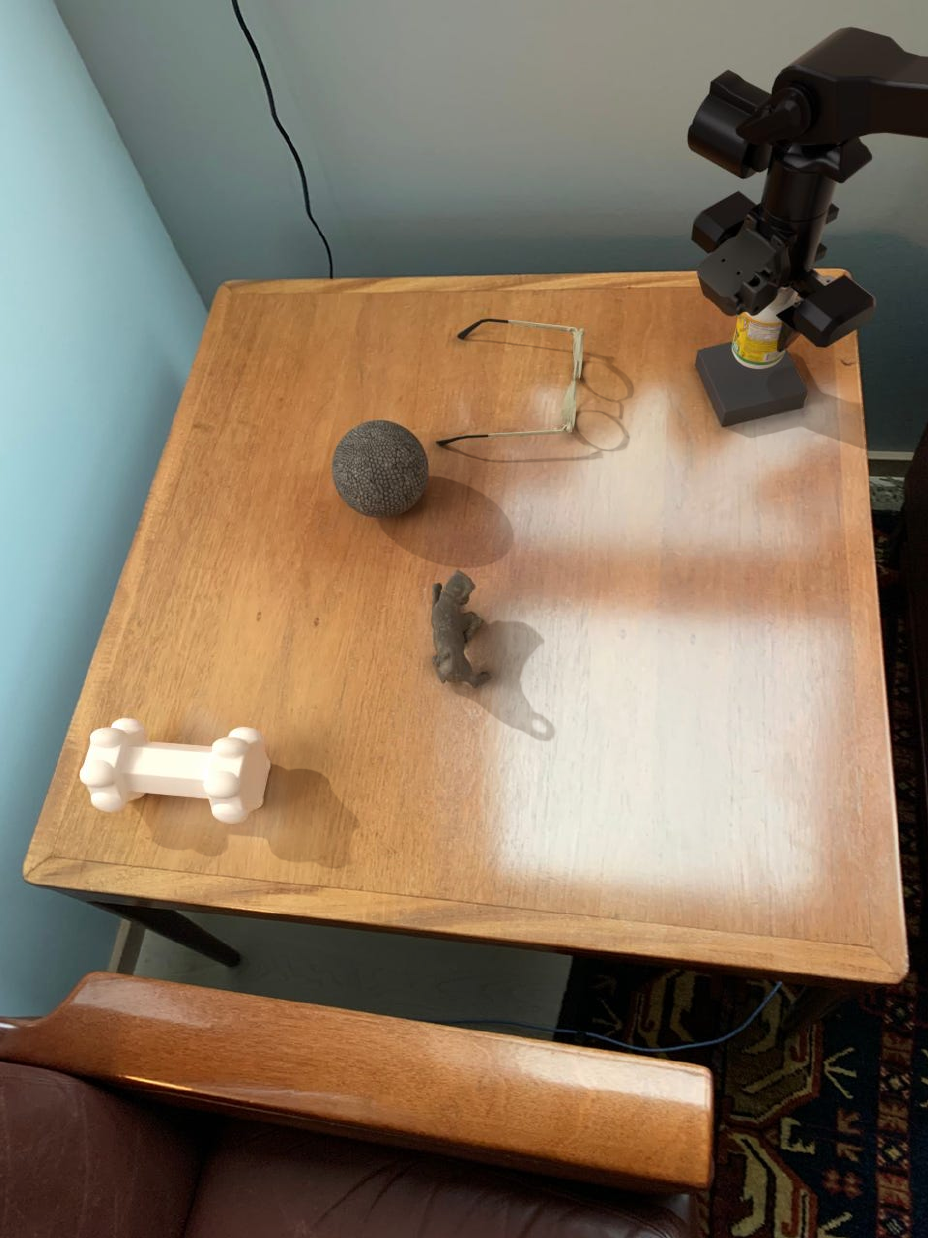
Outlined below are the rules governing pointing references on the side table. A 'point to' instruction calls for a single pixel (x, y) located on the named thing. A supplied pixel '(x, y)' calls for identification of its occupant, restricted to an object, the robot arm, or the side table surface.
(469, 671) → the dog figurine
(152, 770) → the dog bone
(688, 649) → the side table surface
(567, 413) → the eyeglasses
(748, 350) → the supplement bottle
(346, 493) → the decorative ball
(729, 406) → the block
